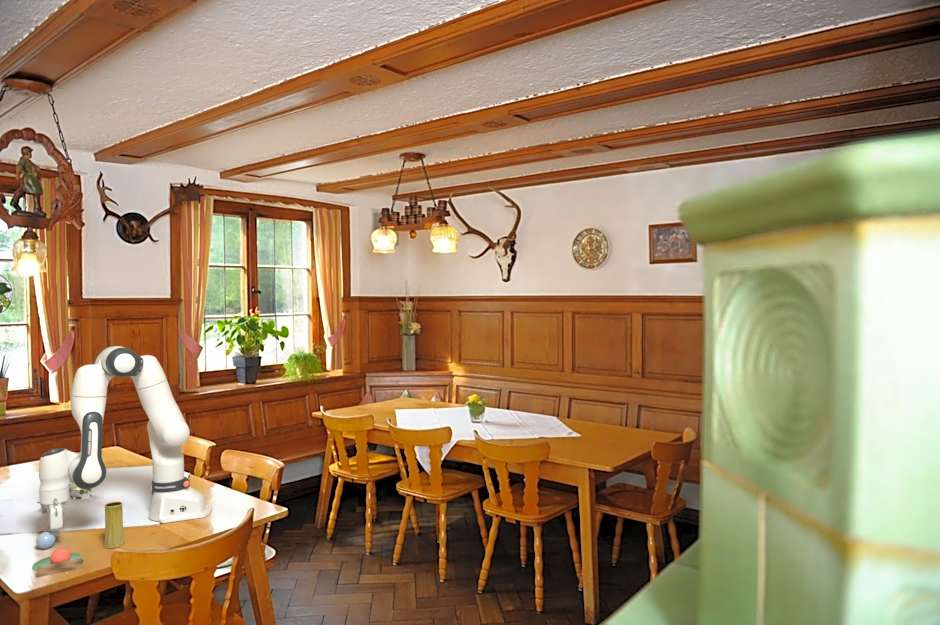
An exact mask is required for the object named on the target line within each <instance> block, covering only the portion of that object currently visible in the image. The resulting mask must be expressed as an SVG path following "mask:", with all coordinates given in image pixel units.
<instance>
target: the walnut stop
mask: <svg viewBox="0 0 940 625" xmlns="http://www.w3.org/2000/svg"><path fill="white" fill-rule="evenodd" d="M82 567H83V568H84V560H83V558H78V559H73V560H68V561H64V562H59V563H54V564H49V565H44V566H39V567H37V571H36V578H41V577H45V576H51V575H55V574H59V573H64V572H68V571H73V570H74V571H75V570H78V568H79V569H83V568H82Z"/></svg>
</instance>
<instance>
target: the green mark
mask: <svg viewBox="0 0 940 625" xmlns="http://www.w3.org/2000/svg"><path fill="white" fill-rule="evenodd" d="M70 554H71V558H70V560H73V559H78V558H82V557H84V558H85V556H84V555H83V554H82V555H83V556H82V555H81V556H80V554H81V553H76V552H70ZM79 556H80V557H79ZM50 557H51V555H50V556H47V557H44V558H41V559H39V560H38V561H36V562H35V563H33V564H32V566H31V568H32V570H33V571H35V572H37V567H39V566H44V565H49V564H51V562H50Z"/></svg>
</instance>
